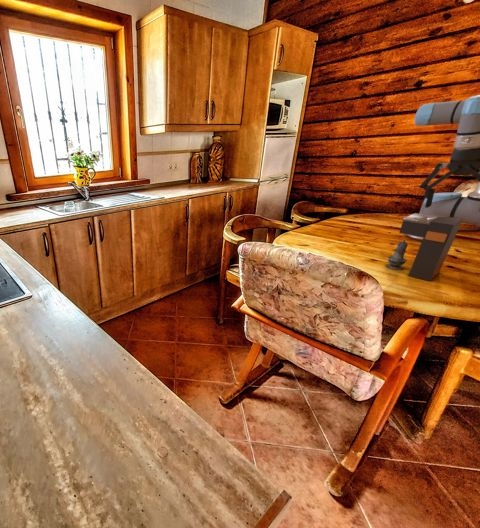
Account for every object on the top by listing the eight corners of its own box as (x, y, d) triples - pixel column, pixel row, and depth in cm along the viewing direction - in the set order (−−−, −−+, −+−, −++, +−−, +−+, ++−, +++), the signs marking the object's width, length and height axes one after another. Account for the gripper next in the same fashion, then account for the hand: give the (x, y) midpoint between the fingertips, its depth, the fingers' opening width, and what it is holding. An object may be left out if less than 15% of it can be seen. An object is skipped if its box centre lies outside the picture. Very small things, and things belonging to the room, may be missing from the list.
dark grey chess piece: (407, 270, 113) (418, 242, 108) (390, 269, 114) (400, 242, 109) (397, 264, 118) (407, 237, 113) (381, 263, 119) (391, 237, 114)
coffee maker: (396, 262, 120) (414, 212, 111) (439, 272, 110) (463, 218, 101) (384, 270, 114) (403, 218, 105) (428, 281, 104) (453, 225, 95)
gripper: (414, 152, 102) (404, 207, 110) (528, 145, 81) (504, 215, 89) (424, 147, 104) (413, 202, 113) (537, 140, 83) (513, 208, 92)
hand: (453, 208), depth 101 cm, fingers open, 13 cm apart
